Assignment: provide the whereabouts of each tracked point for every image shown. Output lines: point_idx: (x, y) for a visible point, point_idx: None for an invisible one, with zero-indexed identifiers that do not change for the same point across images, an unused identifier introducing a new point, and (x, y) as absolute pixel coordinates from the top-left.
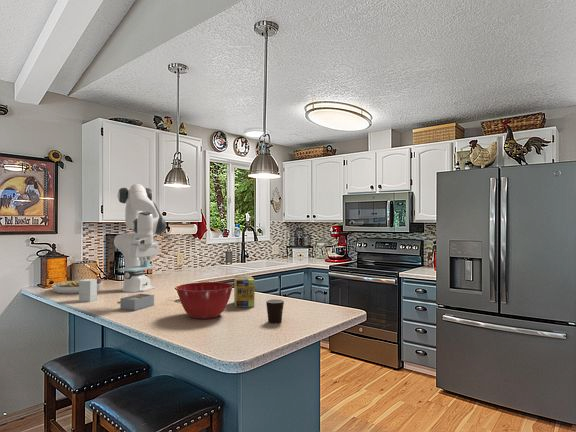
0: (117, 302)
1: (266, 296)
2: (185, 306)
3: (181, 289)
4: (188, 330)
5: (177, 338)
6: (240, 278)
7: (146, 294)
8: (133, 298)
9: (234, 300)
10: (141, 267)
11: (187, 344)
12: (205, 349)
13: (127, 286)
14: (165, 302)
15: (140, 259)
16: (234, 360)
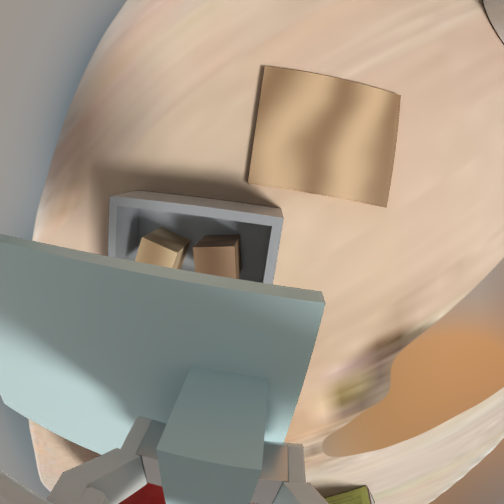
0: (264, 68)
1: (434, 491)
2: None
3: (150, 502)
4: (79, 461)
5: (44, 449)
6: None
7: (265, 277)
8: (149, 258)
9: (357, 494)
10: (121, 414)
11: (40, 459)
12: (46, 473)
13: (501, 2)
14: (346, 316)
15: (77, 485)
16: (48, 488)
